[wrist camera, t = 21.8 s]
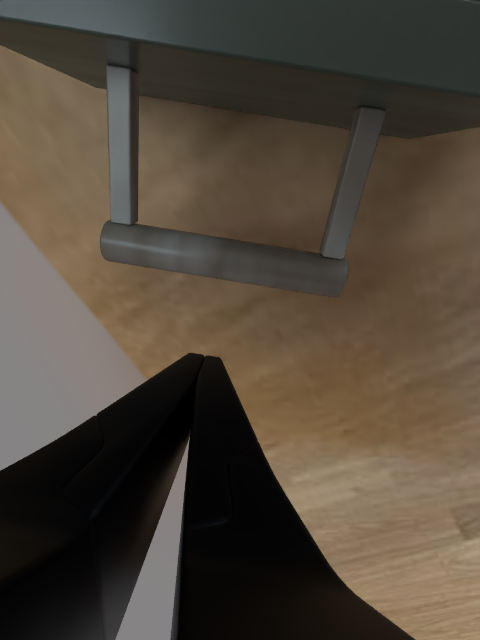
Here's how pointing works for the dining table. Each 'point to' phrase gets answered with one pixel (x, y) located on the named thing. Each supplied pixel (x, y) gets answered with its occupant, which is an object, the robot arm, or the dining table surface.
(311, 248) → the dining table surface
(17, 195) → the dining table surface
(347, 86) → the drawer
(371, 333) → the dining table surface
